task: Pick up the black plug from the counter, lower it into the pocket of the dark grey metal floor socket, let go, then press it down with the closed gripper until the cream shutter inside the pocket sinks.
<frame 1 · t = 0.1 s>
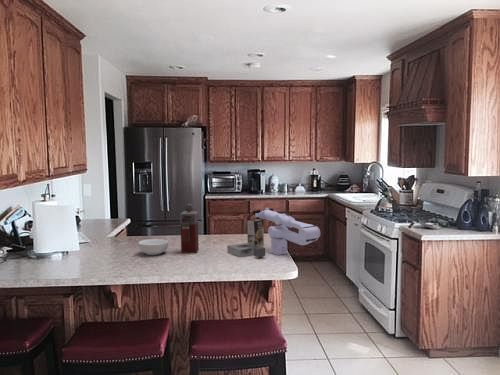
hand: (258, 211, 259), 22 cm above the countertop, tool horizontal, fingers open, 7 cm apart
plug: (259, 257, 234), on the countertop
shutter: (243, 250, 244), point 1 cm above the countertop, slide at 0.0 cm
socket plate: (243, 253, 245), on the countertop
glass bottle: (189, 252, 250), on the countertop
cereal bowl: (153, 254, 246), on the countertop
coffee box: (255, 245, 265), on the countertop
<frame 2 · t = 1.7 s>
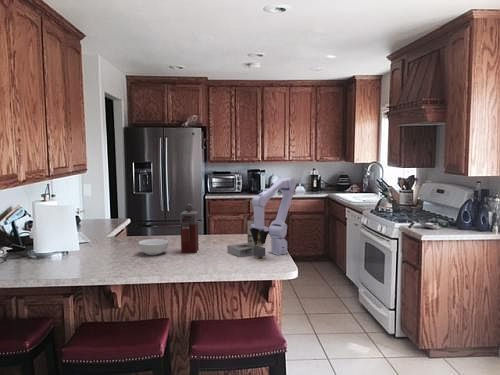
hand: (259, 242, 233), 8 cm above the countertop, tool pointing down, fingers open, 7 cm apart
nothing on the countertop moved.
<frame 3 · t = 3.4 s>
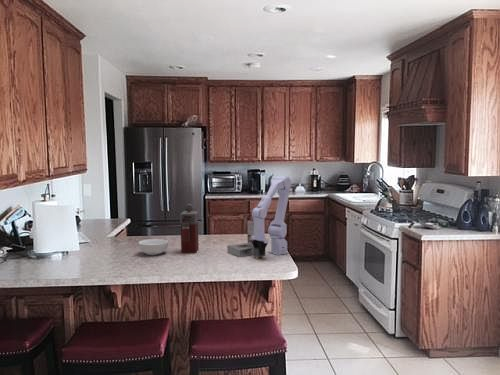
hand: (259, 254, 234), 2 cm above the countertop, tool pointing down, fingers closed on plug, 4 cm apart
plug: (259, 257, 234), on the countertop, touching gripper
everything else where it was.
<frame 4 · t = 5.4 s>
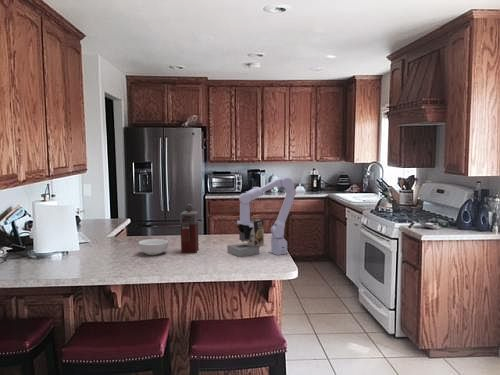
hand: (245, 238, 242), 9 cm above the countertop, tool pointing down, fingers closed on plug, 4 cm apart
plug: (245, 241, 242), point 7 cm above the countertop, touching gripper
everything else where it was.
when the fingers open (5 cm above the countertop, at t = 7.3 s): plug drops 1 cm, resting on shutter.
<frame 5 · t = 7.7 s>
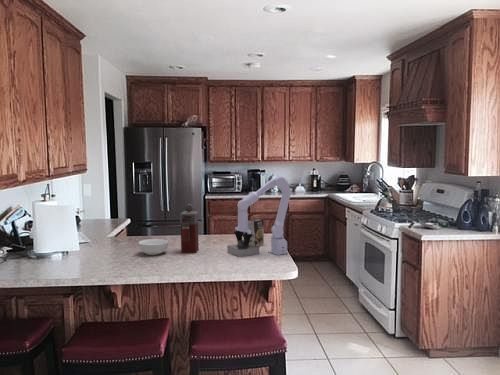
hand: (243, 244, 244), 5 cm above the countertop, tool pointing down, fingers open, 7 cm apart
plug: (243, 250, 244), point 2 cm above the countertop, touching shutter
shutter: (243, 251, 244), point 1 cm above the countertop, slide at 0.2 cm, touching plug
everything else where it was.
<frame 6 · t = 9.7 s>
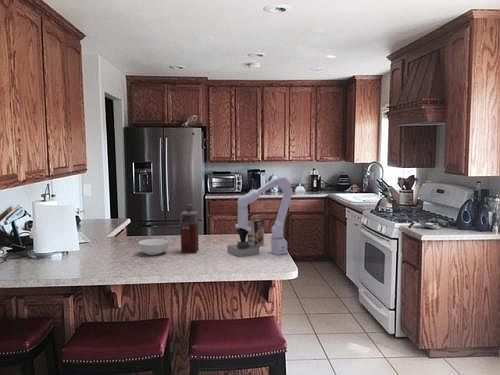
hand: (243, 241, 244), 7 cm above the countertop, tool pointing down, fingers closed, pressing on plug
plug: (243, 251, 244), point 1 cm above the countertop, touching gripper, shutter
shutter: (243, 251, 245), point 1 cm above the countertop, slide at 0.8 cm, touching plug
everything else where it was.
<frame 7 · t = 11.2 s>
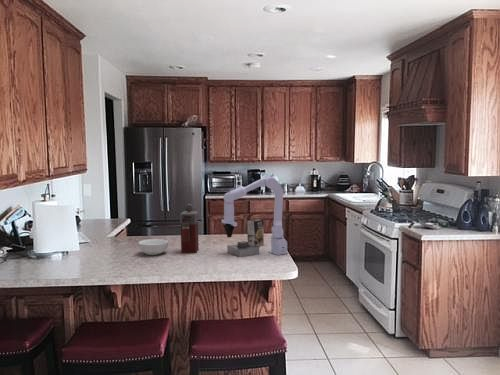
hand: (229, 237, 243), 10 cm above the countertop, tool pointing down, fingers closed
plug: (243, 251, 244), point 1 cm above the countertop, touching shutter
everything else where it was.
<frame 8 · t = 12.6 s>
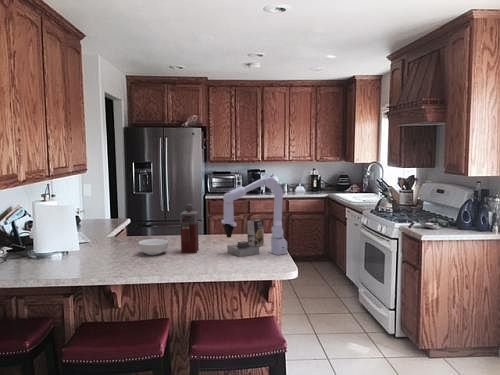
hand: (229, 237, 243), 9 cm above the countertop, tool pointing down, fingers closed
nothing on the countertop moved.
at the end: plug 0.1 cm off-centre on the socket plate, point 1.0 cm above the socket plate's base; shutter slide at 1.0 cm; plug tilted 0° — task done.
